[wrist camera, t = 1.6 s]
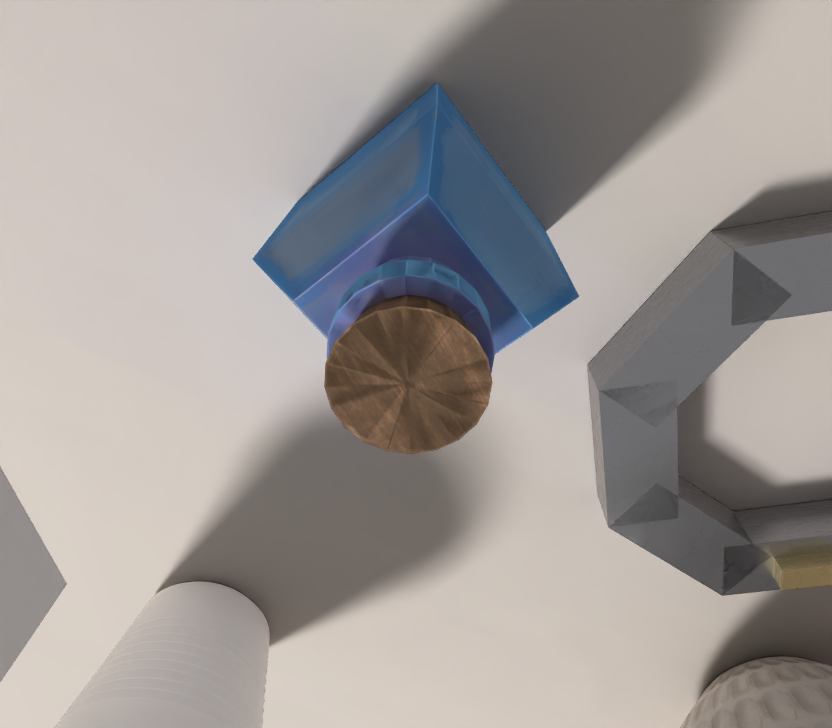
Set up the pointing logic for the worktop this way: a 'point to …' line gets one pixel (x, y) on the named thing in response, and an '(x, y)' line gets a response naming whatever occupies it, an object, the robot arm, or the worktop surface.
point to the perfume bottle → (416, 277)
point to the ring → (678, 377)
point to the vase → (767, 696)
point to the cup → (182, 665)
